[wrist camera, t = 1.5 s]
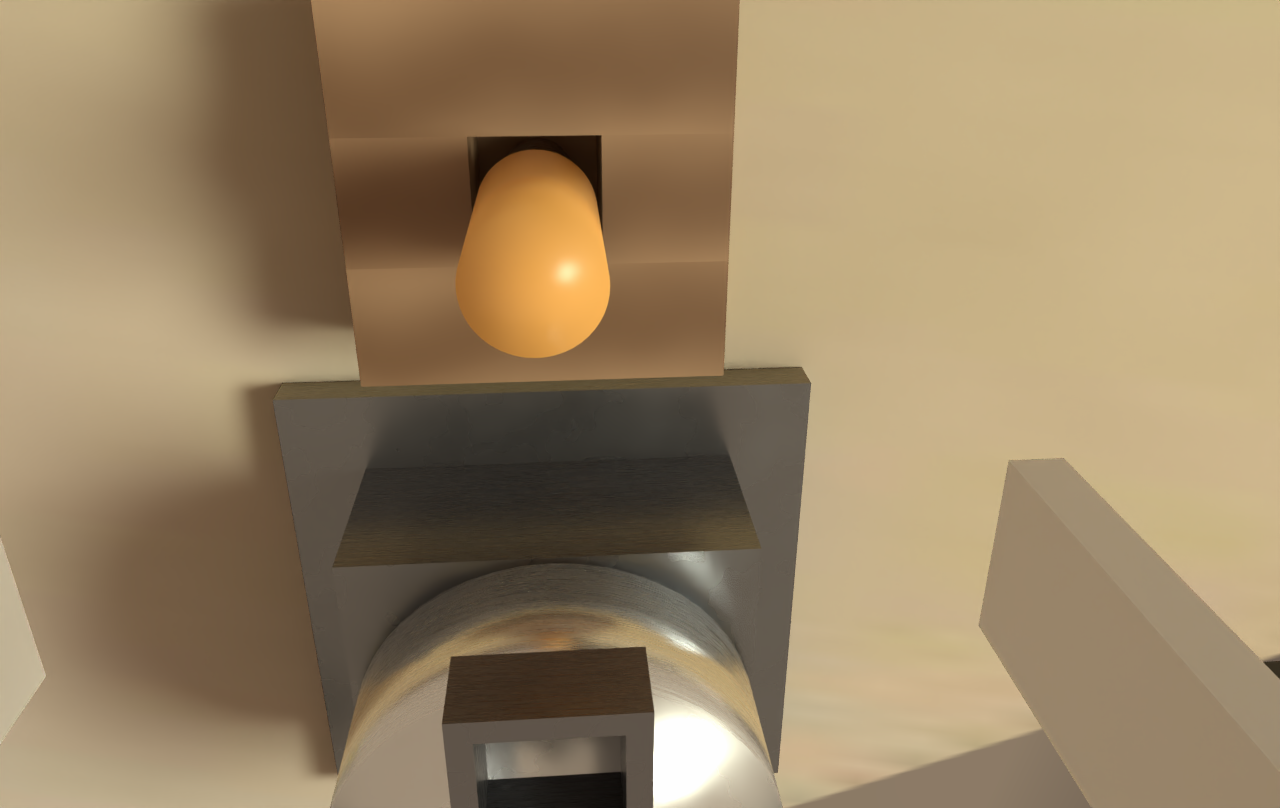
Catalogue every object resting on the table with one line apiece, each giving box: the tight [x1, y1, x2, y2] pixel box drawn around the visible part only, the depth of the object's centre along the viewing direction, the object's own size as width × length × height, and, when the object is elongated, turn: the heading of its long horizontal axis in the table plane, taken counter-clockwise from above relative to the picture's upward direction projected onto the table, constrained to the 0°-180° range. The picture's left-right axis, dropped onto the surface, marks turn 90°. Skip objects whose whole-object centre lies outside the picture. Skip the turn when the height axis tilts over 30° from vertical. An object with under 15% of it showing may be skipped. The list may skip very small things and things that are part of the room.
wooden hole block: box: [311, 0, 740, 387], centre depth 33 cm, size 12×12×5 cm
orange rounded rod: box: [455, 138, 610, 358], centre depth 29 cm, size 4×4×12 cm
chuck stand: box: [273, 367, 811, 774], centre depth 39 cm, size 20×20×8 cm
